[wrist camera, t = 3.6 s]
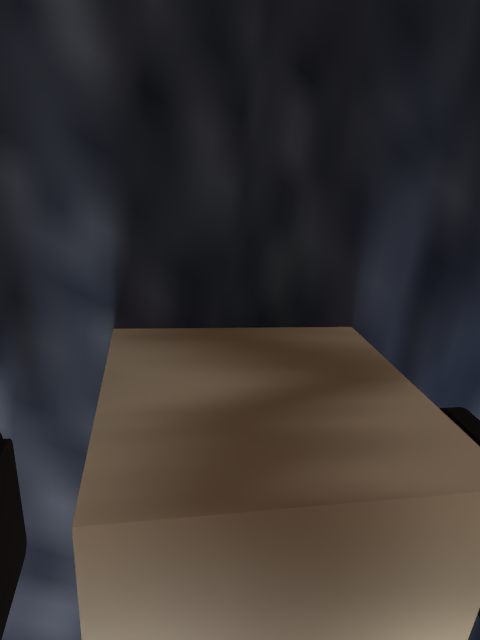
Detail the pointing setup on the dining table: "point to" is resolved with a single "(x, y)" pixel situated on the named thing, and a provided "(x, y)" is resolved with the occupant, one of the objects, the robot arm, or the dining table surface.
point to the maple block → (272, 493)
